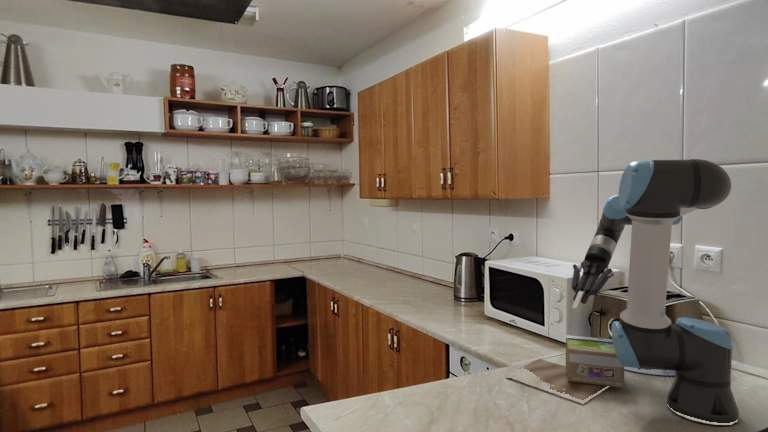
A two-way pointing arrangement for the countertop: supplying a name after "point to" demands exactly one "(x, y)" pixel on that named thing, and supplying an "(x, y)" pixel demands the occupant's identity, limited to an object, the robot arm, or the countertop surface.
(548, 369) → the walnut board
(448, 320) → the countertop surface
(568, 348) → the tea box
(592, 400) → the countertop surface
